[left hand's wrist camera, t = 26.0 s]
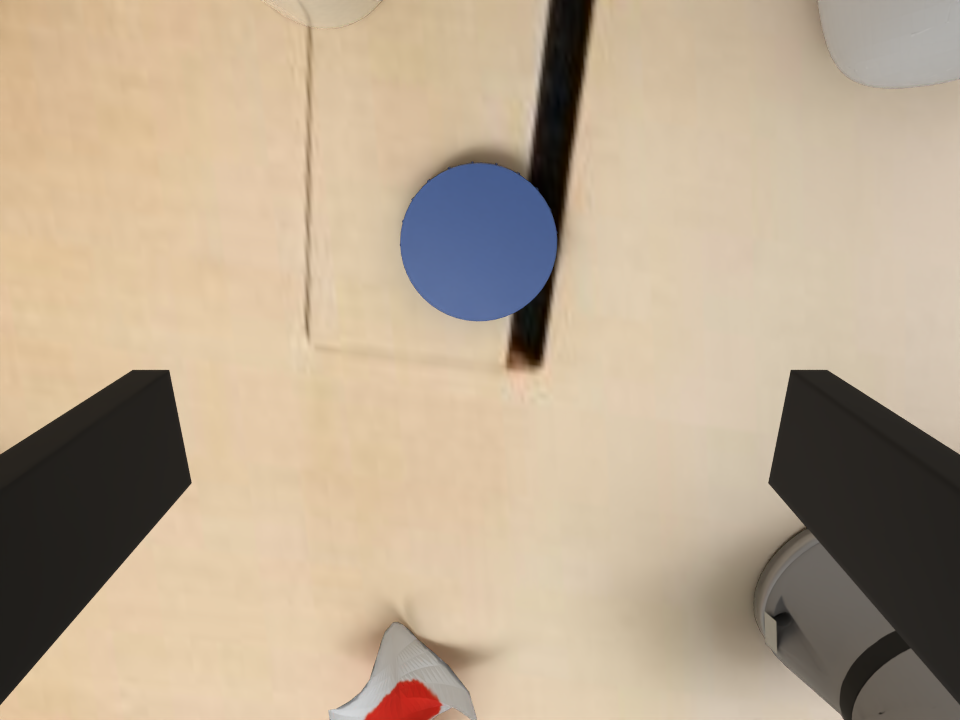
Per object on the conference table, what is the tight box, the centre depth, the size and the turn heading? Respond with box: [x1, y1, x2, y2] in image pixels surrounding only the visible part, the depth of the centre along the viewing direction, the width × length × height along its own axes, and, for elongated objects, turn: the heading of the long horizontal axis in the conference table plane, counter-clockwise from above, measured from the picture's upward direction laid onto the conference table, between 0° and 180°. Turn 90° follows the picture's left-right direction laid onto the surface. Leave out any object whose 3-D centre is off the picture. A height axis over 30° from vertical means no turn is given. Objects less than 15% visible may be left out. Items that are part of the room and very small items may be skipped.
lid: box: [400, 161, 557, 321], centre depth 35 cm, size 10×10×2 cm
